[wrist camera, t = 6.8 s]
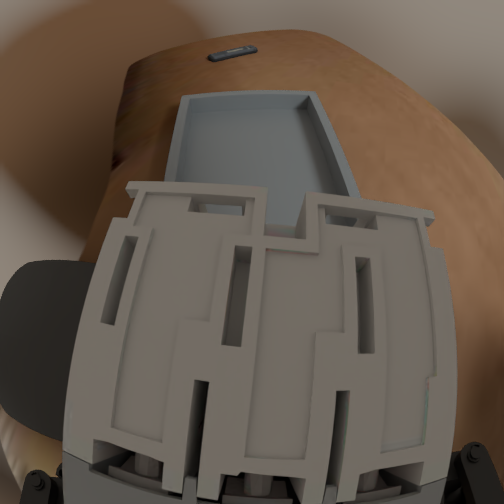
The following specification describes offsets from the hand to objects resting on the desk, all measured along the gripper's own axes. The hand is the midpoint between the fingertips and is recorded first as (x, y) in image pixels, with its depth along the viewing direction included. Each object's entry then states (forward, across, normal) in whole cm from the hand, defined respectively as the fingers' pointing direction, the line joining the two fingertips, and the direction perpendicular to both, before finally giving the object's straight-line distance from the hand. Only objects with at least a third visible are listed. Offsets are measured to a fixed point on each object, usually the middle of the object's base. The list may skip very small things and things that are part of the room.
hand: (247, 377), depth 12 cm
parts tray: (+18, -2, -9) cm, 20 cm away
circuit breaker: (+2, 0, +7) cm, 7 cm away
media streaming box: (+6, +16, +4) cm, 17 cm away
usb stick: (+40, 0, -31) cm, 51 cm away
